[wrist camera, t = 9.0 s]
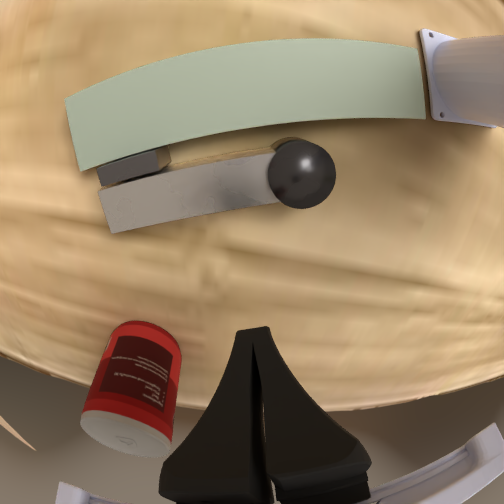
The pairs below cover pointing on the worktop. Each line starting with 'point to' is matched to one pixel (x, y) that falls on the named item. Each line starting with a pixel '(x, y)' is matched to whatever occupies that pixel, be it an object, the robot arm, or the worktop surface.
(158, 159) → the block
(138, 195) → the latch bar
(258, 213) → the worktop surface
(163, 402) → the canned food
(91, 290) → the worktop surface
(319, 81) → the pale green flat bar
